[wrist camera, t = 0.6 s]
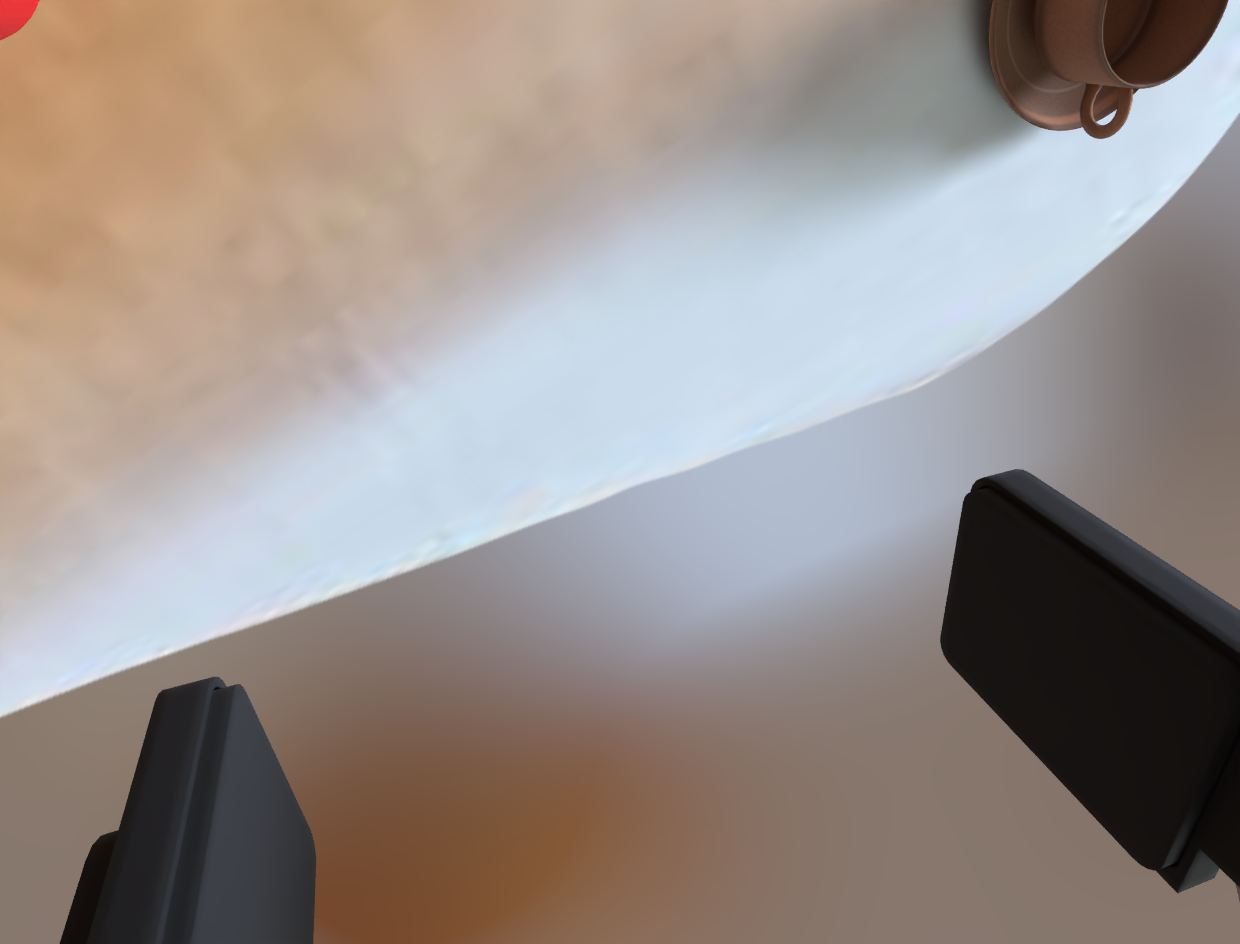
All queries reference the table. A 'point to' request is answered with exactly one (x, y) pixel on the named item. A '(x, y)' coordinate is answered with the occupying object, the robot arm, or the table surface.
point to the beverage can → (15, 15)
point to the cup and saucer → (1092, 55)
